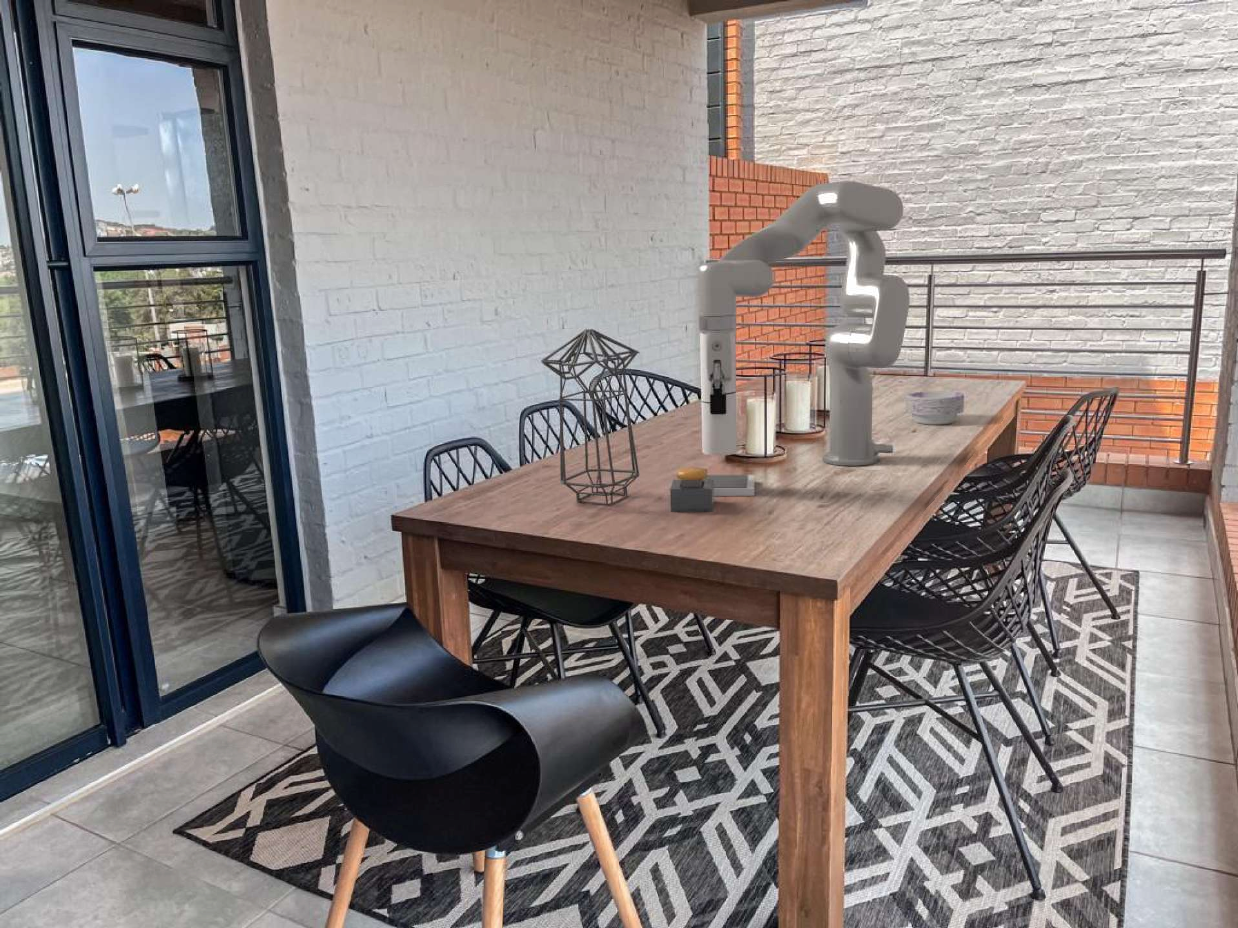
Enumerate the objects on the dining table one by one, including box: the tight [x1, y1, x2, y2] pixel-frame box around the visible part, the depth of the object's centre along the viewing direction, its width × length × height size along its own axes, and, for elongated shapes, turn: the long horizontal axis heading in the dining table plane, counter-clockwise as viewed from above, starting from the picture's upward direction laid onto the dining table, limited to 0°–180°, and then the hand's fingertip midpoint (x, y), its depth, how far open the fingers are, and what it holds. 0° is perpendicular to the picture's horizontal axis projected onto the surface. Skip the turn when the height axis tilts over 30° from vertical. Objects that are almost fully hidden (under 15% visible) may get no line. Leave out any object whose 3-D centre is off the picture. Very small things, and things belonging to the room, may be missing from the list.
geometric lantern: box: [540, 328, 640, 506], centre depth 195 cm, size 16×16×35 cm
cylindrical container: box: [699, 331, 738, 457], centre depth 198 cm, size 7×7×25 cm
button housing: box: [669, 478, 715, 513], centre depth 189 cm, size 8×8×4 cm
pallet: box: [704, 474, 755, 497], centre depth 203 cm, size 14×12×2 cm
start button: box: [676, 466, 708, 487], centre depth 189 cm, size 6×6×5 cm
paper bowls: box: [905, 390, 965, 426], centre depth 265 cm, size 15×15×8 cm
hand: (719, 410), depth 199 cm, fingers closed on cylindrical container, 7 cm apart
